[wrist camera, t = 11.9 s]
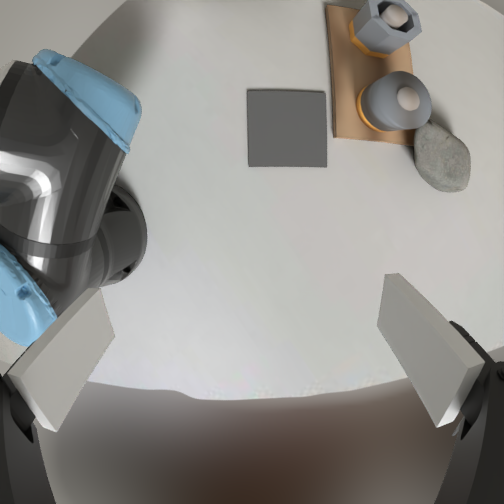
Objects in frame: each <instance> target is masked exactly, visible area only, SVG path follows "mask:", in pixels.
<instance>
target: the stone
mask: <svg viewBox="0 0 504 504" xmlns="http://www.w3.org/2000/svg"><path fill="white" fill-rule="evenodd" d="M414 158H415V166H416V168H417V170H418V172H419V174H420V175H421V177H422V178H423V179H424V180H425V181H426V182H427V183H428V184H430V185H431V186H432V187H434V188H435V189H437V190H439V191H442V192H459V191H462V190H464V189H465V188H466V187H467V185H468V182H469V178H470V169H471V161H470V153H469V150H468V148H467V147H466V145H465V144H464V143H463V142H462V141H461V140H460V139H458V138H457V137H456V136H454V135H452V134H451V133H450V132H448V131H447V130H446V129H444V128H443V127H441V126H440V125H438V124H437V123H435V122H434V121H432V120H429V119H428V121H427V122H426V123H425V124H424V125H423V126H421V127H419V128H416V130H415V135H414Z"/></svg>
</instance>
